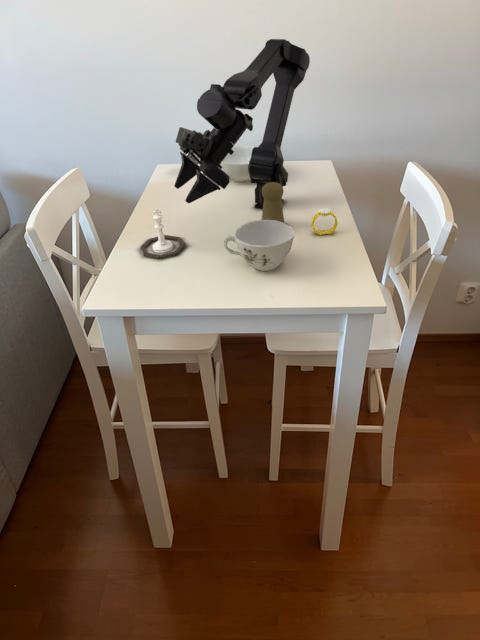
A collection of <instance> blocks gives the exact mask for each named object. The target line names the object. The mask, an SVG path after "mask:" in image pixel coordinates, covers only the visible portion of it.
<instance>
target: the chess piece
mask: <svg viewBox="0 0 480 640" xmlns="http://www.w3.org/2000/svg"><path fill="white" fill-rule="evenodd" d="M152 213H153V214H154V215H153V217H152V218H153V220H154V222H155V225H154V228H155V229H157V237H158V241H155V242H153V244H152V251H153V252H154V253H156V254H157V253H158V254H166V253H169V252H170V251H172V250H173V249H174V244H173V242H172V241H171V240H168V239H165V238H164V235H165V234H164V231H163V228H164V227H165V225H164V223H162V220H163V215H161V213H162V210H159V208H158V207H155V210H153V211H152Z"/></svg>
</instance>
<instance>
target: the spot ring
mask: <svg viewBox="0 0 480 640" xmlns="http://www.w3.org/2000/svg"><path fill="white" fill-rule="evenodd" d="M164 238H165V240H167V241H174V242H177V243H178V245H179V246H178V247H177V248H176V249H175V250H174V251H171V252H165V253H161V254H159V253H158V254H157V253H152V252H148V250H147V247H148V246H150V245H151V244H152V243H156V242H157V241H158V236H155V237H151V238H148V239H147V240H146V241H145V242H143V243H142V244H141V245H140V247H139V248H140V251H141V253H142V255H143V256H144V257H145V258H150V259H155V260H164V259H169V258H172V257H175V256H177V255H179V254H180V253H181V252H183V250H184V249H185V248H186V244H185V242H184V241H183V239H182V237H180V236H174V235H166V234H164Z"/></svg>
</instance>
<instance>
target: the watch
mask: <svg viewBox="0 0 480 640" xmlns="http://www.w3.org/2000/svg"><path fill="white" fill-rule="evenodd" d="M320 216H321V217H327V216H332V218H334V224H333V226H332V227H331V228H330V229H327V230H321V231H320V230H317V229H316V228H315V221H316V220H317V218H319V217H320ZM338 225H339V224H338V218H337V216H336V214H335V213H334V212H333V211H331V209H330V208H326V207H324V208H320V209H319V210H318V212H317V213H315V214H314V215H313V217H312V219H311V229H312V230H313V232H314V233H315V234H316V235H318V236H322V235H329V234H330V235H331V234H333V233H334V232H335V231H336V229H337V227H338Z"/></svg>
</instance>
